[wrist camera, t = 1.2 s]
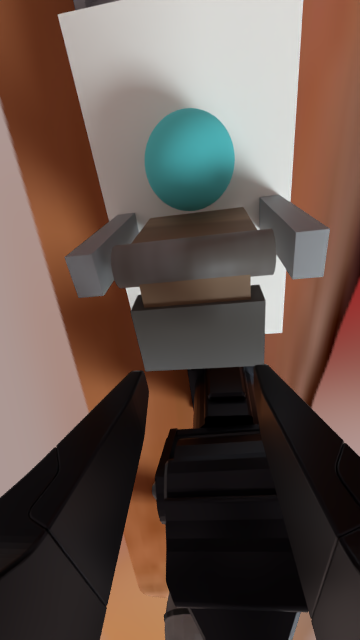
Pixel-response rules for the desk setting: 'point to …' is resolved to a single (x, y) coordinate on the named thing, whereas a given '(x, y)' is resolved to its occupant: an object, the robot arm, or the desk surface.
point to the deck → (202, 93)
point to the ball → (189, 159)
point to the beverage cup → (179, 623)
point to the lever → (198, 289)
